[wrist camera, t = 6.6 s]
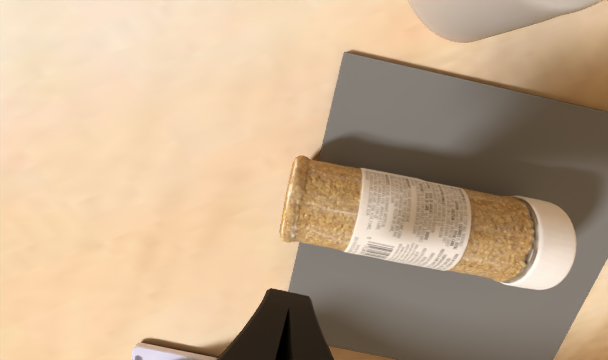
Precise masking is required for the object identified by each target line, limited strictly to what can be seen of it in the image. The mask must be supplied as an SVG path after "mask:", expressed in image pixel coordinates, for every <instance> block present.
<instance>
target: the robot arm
mask: <svg viewBox="0 0 608 360" xmlns="http://www.w3.org/2000/svg"><path fill="white" fill-rule="evenodd" d="M132 360H334V358H333V356H332V354H331V352H330V349H329V347H328V345H327V343H326V340H325V338H324V336H323V333H322V331H321V328H320V325H319V323H318V320H317V317H316V314H315V311H314V308H313V304H312V301H311V299H310V297H309V296H306V295H301V294H296V293H291V292H287V291H282V290H277V289H272V288H271V289H269V290H267V291H266V294H265V296H264V298H263V300H262V302H261V304H260V305H259V307H258V309H257V310H256V312H255V313H254V315H253V316H252V317H251V319H250V320H249V321H248V323H247V324H246V325H245V327H244V328H243V330H242V331H241V332H240V333H239V335H238V336H237V337H236V338H235V339H234V340H233V341H232V343H231V344H230V345H229V346H228V347H227V348H226V350H225V351H224V352H223V353H222V354H221V355H220V356H219V357H218V358H215V357H210V356H205V355H200V354H195V353H190V352H185V351H180V350H175V349H170V348H165V347H160V346H155V345H150V344H145V343H137V344H136V345H135V346H134V348H133V350H132Z"/></svg>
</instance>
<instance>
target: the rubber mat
mask: <svg viewBox="0 0 608 360" xmlns="http://www.w3.org/2000/svg"><path fill="white" fill-rule="evenodd" d="M319 161H320V162H326V163H331V164H336V165H341V166H345V167H353V168H366V169H371V170H376V171H381V172H387V173H392V174H397V175H402V176H408V177H413V178H418V179H421V180H424V181H427V182H433V183H438V184H443V185H448V186H453V187H460V188H463V189H468V190H473V191H478V192H483V193H489V194H493V195H498V196H509V197H510V196H523V197H528V198H533V199H538V200H542V201H547V202H551V203H553V204H555V205H557V206H558V207H560V208H561V209H562V210H563V211H564V212H565V213H566V214H567V215H568V217H569V218H570V220H571V222H572V224H573V227H574V230H575V235H576V244H577V245H576V254H575V259H574V262H573V265H572V267H571V269H570V271H569V273H568V274H567V276H566V277H565V278H564V279H563V280H562V281H561V282H560V283H558V284H557V285H555V286H554V287H551V288H549V289H544V290H535V289H528V288H521V287H515V286H510V285H505V284H502V283H501V282H497V281H494V280H493V279H491V278H487V277H482V276H477V275H471V274H464V273H458V272H454V271H448V270H446V271H442V270H436V269H431V268H426V267H420V266H415V265H409V264H403V263H398V262H393V261H388V260H383V259H378V258H373V257H367V256H362V255H357V254H352V253H347V252H343V251H341V250H338V249H334V248H329V247H323V246H317V245H313V244H306V243H302V242H300V243H299V247H298V252H297V256H296V260H295V264H294V269H293V273H292V277H291V282H290V286H289V290H288V292H291V293H296V294H301V295H306V296H309V297H310V299H311V301H312V304H313V308H314V311H315V314H316V317H317V320H318V323H319V325H320V328H321V331H322V333H323V336H324V338H325V340H326V343H327V345H328V346H333V347H338V348H343V349H348V350H353V351H358V352H363V353H368V354H372V355H377V356H382V357H387V358H392V359H397V360H553V359H554V357H555V355H556V353H557V351H558V349H559V347H560V346H561V344H562V342H563V340H564V338H565V336H566V334H567V333H568V331H569V329H570V327H571V325H572V323H573V321H574V320H575V318H576V316H577V314H578V312H579V310H580V308H581V307H582V305H583V303H584V301H585V299H586V297H587V295H588V294H589V292H590V290H591V288H592V286H593V284H594V282H595V281H596V279H597V277H598V275H599V273H600V271H601V269H602V268H603V266H604V264H605V262H606V260H607V258H608V112H606V111H602V110H597V109H593V108H589V107H584V106H580V105H575V104H571V103H567V102H562V101H558V100H553V99H549V98H544V97H540V96H536V95H531V94H527V93H522V92H518V91H514V90H509V89H505V88H500V87H496V86H492V85H487V84H483V83H478V82H474V81H470V80H465V79H461V78H456V77H452V76H448V75H443V74H439V73H434V72H430V71H426V70H421V69H417V68H412V67H408V66H404V65H399V64H395V63H390V62H386V61H382V60H377V59H373V58H368V57H364V56H359V55H355V54H351V53H346V52H344V54H343V58H342V63H341V67H340V71H339V76H338V80H337V84H336V88H335V93H334V97H333V101H332V106H331V110H330V114H329V118H328V123H327V127H326V131H325V136H324V140H323V144H322V149H321V153H320V157H319Z"/></svg>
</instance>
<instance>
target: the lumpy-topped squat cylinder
mask: <svg viewBox="0 0 608 360" xmlns="http://www.w3.org/2000/svg"><path fill="white" fill-rule="evenodd" d="M600 1H602V0H408V2H409V4H410V5H411V7H412V9H413V11H414V12H415V14H416V15H417V17H418V18H419V19H420V21H421V22H422V23H423V24H424V25H425V26H426V27H427V28H428V29H429V30H430V31H432V32H433V33H435V34H436V35H438V36H440V37H442V38H444V39H446V40H449V41H453V42H459V43H468V42H474V41H477V40H481V39H484V38H488V37H491V36H494V35H498V34H501V33H505V32H508V31H512V30H515V29H519V28H522V27H526V26H529V25H533V24H536V23H539V22H543V21H546V20H549V19H551V18H554V17H557V16H560V15H564V14H569V13H573V12H576V11H579V10H582V9H585V8H587V7H590V6H592V5H594V4H596V3H598V2H600Z"/></svg>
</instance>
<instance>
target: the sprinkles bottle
mask: <svg viewBox="0 0 608 360" xmlns="http://www.w3.org/2000/svg"><path fill="white" fill-rule="evenodd" d="M280 236H281V238H282V240H283V241H285V242H295V241H297V242H302V243H306V244H313V245H317V246H323V247H329V248H334V249H338V250H341V251H343V252H347V253H352V254H357V255H362V256H367V257H373V258H378V259H383V260H388V261H393V262H398V263H403V264H409V265H415V266H420V267H426V268H431V269H436V270H442V271H446V270H448V271H454V272H458V273H464V274H471V275H477V276H482V277H487V278H491V279H493V280H494V281H497V282H501V283H502V284H505V285H510V286H515V287H521V288H528V289H535V290H544V289H549V288H551V287H554V286H555V285H557V284H558V283H560V282H561V281H562V280H563V279H564V278H565V277H566V276H567V274H568V273H569V271H570V269H571V267H572V265H573V262H574V259H575V254H576V245H577V244H576V235H575V230H574V227H573V224H572V222H571V220H570V218H569V217H568V215H567V214H566V213H565V212H564V211H563V210H562V209H561V208H560V207H558V206H557V205H555V204H553V203H551V202H547V201H542V200H538V199H533V198H528V197H523V196H510V197H509V196H498V195H493V194H489V193H483V192H478V191H473V190H468V189H463V188H460V187H453V186H448V185H443V184H438V183H433V182H427V181H424V180H421V179H418V178H413V177H408V176H402V175H397V174H392V173H387V172H381V171H376V170H371V169H366V168H353V167H345V166H341V165H336V164H331V163H326V162H320V161H315V160H310V159H309V158H307V157H305V156H298V157H296V159H295V160H294V162H293V165H292V170H291V175H290V179H289V184H288V188H287V192H286V197H285V203H284V208H283V214H282V221H281V225H280Z"/></svg>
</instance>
